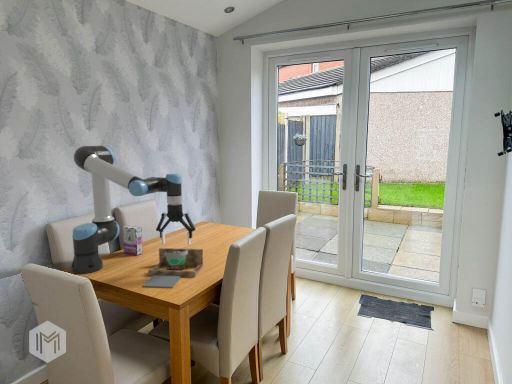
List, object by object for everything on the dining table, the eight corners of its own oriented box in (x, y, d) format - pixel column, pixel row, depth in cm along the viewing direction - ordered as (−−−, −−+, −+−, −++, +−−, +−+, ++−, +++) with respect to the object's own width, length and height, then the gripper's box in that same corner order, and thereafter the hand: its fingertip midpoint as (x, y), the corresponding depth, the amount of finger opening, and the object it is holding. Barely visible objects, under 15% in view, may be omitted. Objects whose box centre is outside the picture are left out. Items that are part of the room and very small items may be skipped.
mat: (142, 287, 165) (142, 285, 165) (153, 275, 179) (153, 274, 179) (172, 287, 164) (172, 286, 164) (181, 276, 178) (181, 275, 178)
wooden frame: (148, 275, 180) (147, 258, 178) (160, 263, 197) (159, 248, 196) (195, 276, 178) (194, 259, 176) (203, 265, 195) (202, 249, 194)
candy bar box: (143, 253, 216) (142, 227, 213) (137, 255, 211) (135, 228, 209) (130, 250, 221) (128, 225, 218) (123, 253, 216) (122, 226, 214)
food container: (164, 273, 183) (164, 254, 181) (164, 269, 189) (164, 250, 187) (189, 271, 186) (188, 252, 185) (188, 267, 192) (187, 249, 190)
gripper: (148, 205, 180) (150, 245, 183) (196, 205, 178) (198, 246, 180) (153, 202, 187) (155, 241, 190) (200, 202, 185) (201, 242, 188)
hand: (176, 244), depth 185 cm, fingers open, 13 cm apart
